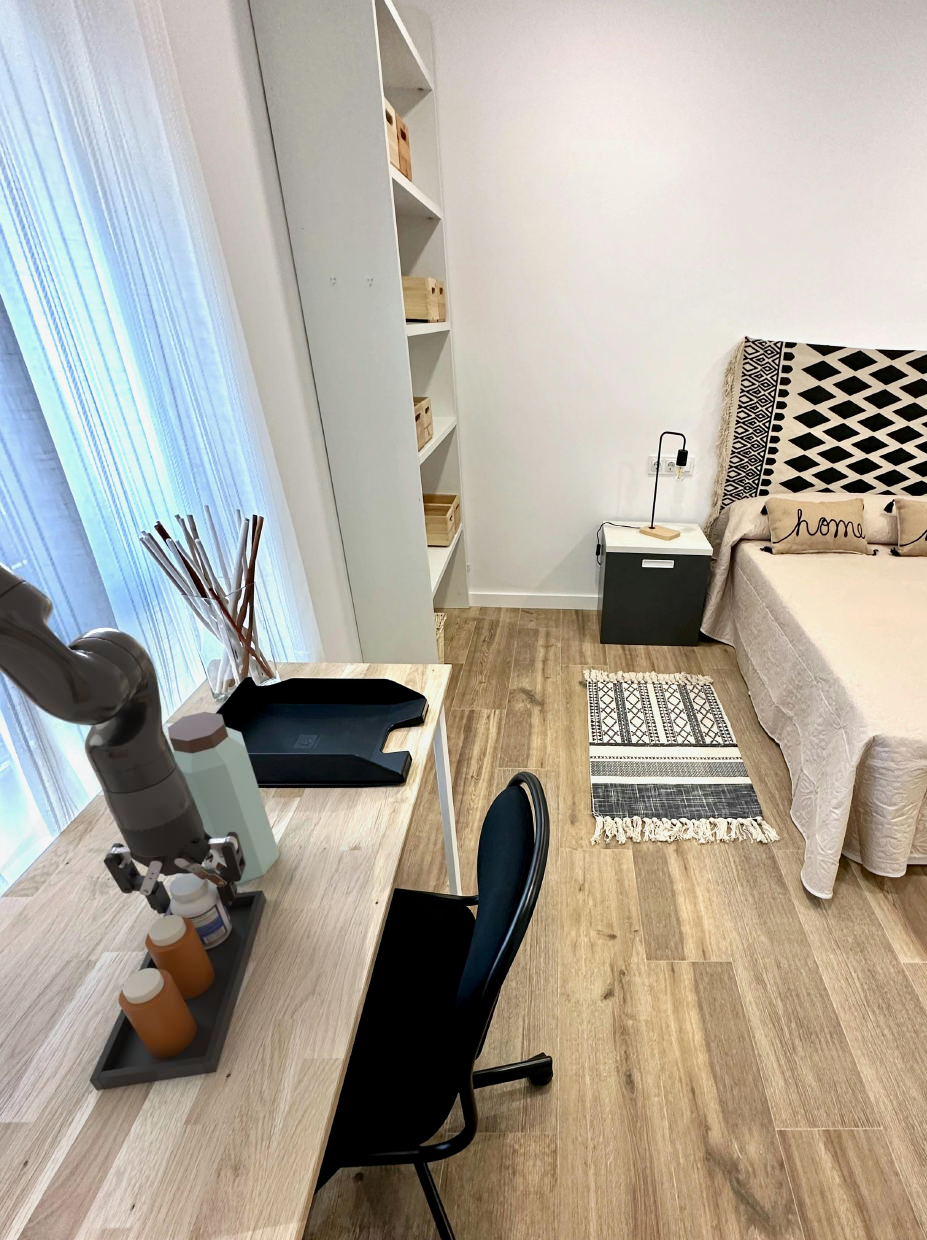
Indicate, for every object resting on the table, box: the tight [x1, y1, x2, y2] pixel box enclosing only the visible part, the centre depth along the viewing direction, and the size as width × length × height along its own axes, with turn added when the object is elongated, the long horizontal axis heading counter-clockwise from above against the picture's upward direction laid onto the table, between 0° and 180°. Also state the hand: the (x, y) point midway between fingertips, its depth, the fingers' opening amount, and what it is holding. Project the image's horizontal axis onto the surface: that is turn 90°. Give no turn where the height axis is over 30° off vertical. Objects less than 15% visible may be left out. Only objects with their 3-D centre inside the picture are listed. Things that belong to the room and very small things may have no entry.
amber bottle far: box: [118, 968, 197, 1059], centre depth 68 cm, size 5×5×10 cm
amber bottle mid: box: [144, 915, 215, 1000], centre depth 74 cm, size 5×5×10 cm
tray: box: [89, 889, 267, 1091], centre depth 76 cm, size 12×24×3 cm, turn 10°
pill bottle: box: [169, 873, 232, 950], centre depth 80 cm, size 5×5×10 cm
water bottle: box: [167, 711, 281, 886], centre depth 87 cm, size 10×10×25 cm
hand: (197, 904), depth 79 cm, fingers open, 7 cm apart
